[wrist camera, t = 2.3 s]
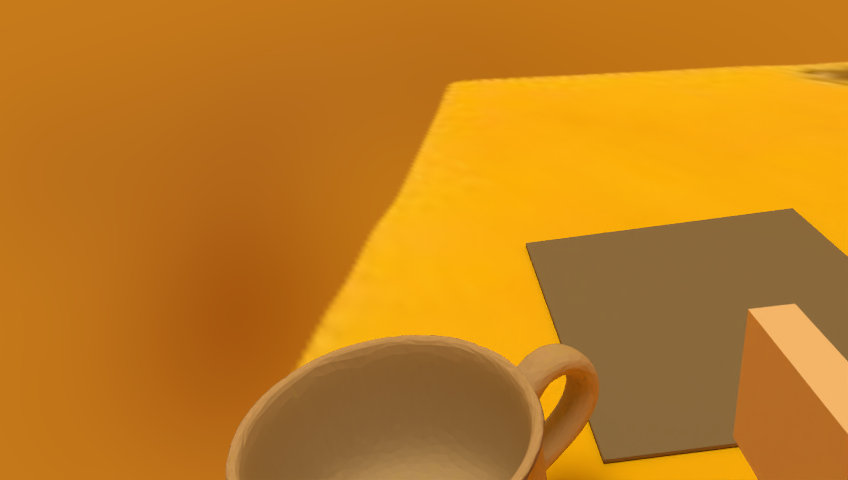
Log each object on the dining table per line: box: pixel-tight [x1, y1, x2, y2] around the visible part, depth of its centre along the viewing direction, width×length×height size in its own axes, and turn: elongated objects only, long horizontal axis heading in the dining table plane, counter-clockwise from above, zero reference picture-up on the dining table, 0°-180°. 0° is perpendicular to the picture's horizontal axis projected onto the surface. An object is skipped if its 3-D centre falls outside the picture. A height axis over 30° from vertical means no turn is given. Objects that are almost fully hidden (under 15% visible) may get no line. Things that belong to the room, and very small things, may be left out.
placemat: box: [526, 208, 848, 463], centre depth 41 cm, size 18×20×1 cm
